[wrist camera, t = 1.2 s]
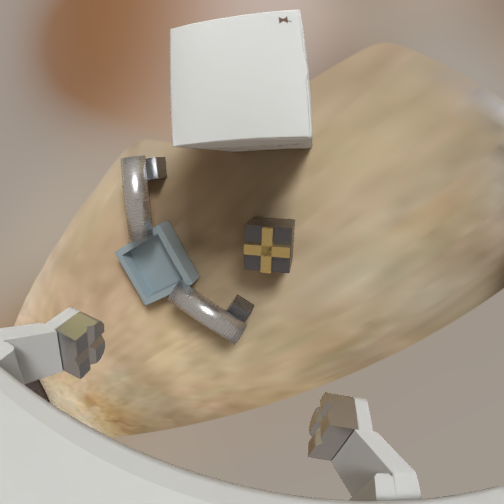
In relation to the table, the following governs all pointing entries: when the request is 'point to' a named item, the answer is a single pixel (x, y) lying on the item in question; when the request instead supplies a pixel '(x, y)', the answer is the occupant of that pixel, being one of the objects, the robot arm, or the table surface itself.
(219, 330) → the shaft
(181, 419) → the table surface
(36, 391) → the perforated stone tool
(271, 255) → the block
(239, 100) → the supplement box
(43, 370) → the robot arm
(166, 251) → the housing
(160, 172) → the shaft
